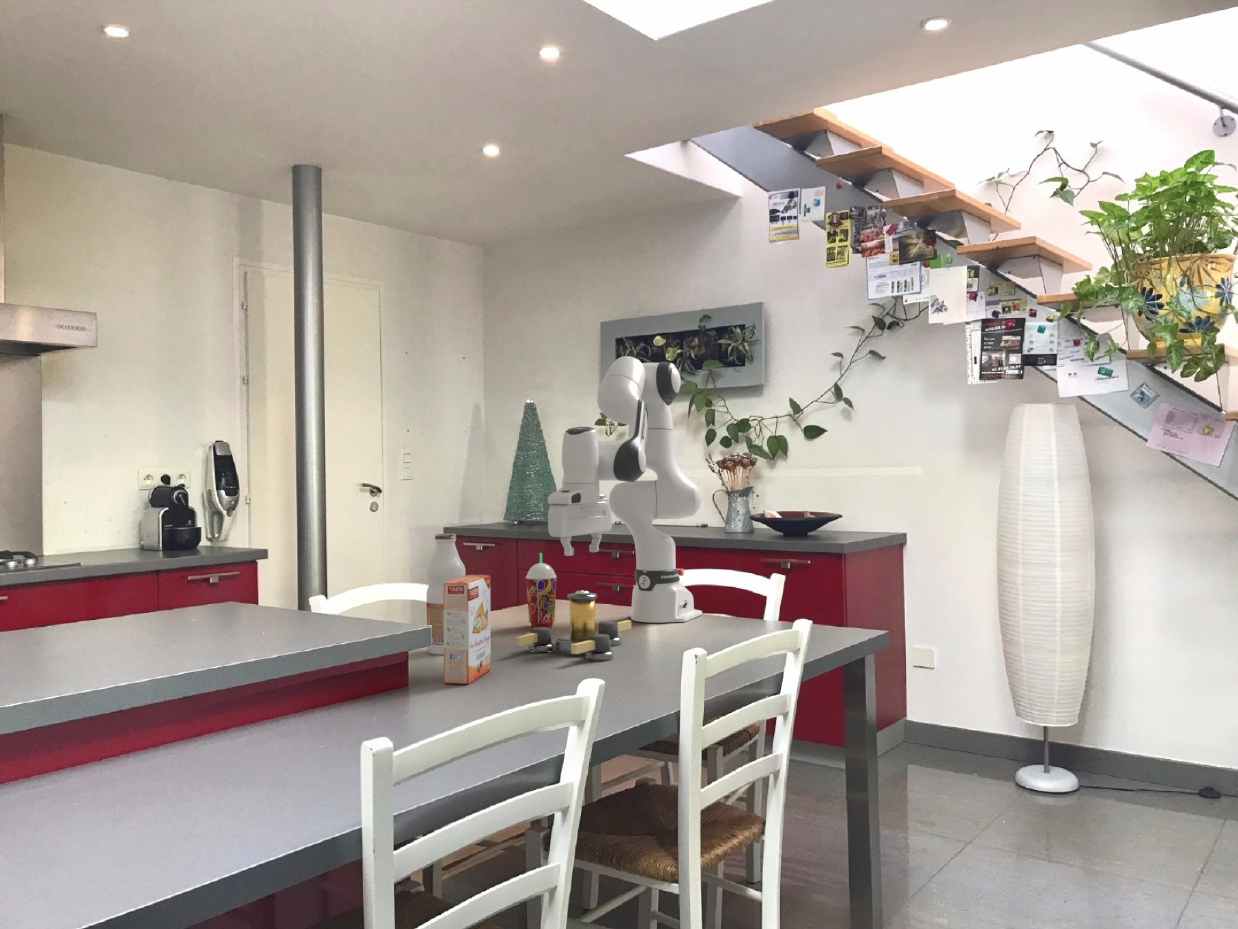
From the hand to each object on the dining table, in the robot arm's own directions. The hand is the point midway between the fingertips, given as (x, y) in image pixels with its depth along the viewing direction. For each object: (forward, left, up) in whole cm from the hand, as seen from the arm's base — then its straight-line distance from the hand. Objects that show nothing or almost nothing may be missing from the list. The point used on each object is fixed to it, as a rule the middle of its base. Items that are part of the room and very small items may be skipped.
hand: (581, 553), depth 233 cm
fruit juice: (+18, -27, -23) cm, 40 cm away
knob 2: (+8, +8, -21) cm, 24 cm away
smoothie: (-20, -30, -23) cm, 43 cm away
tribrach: (-2, 0, -23) cm, 23 cm away
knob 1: (+8, -9, -21) cm, 24 cm away
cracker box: (+35, -3, -23) cm, 42 cm away
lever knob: (-13, 0, -21) cm, 25 cm away
